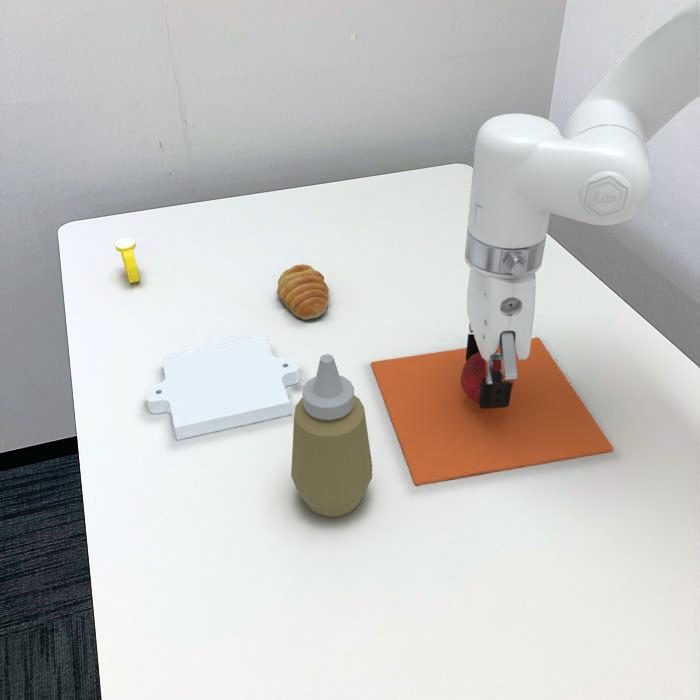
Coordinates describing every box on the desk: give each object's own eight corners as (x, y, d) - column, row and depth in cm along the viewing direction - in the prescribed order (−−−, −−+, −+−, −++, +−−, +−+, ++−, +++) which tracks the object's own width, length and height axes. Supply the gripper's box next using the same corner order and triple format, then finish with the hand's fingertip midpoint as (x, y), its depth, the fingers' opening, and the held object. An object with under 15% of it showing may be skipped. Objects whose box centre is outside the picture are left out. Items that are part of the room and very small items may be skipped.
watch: (120, 269, 109) (111, 234, 105) (139, 265, 110) (130, 230, 106) (127, 290, 105) (118, 254, 101) (146, 286, 106) (138, 250, 102)
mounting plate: (286, 343, 95) (285, 332, 93) (312, 409, 85) (311, 397, 84) (143, 372, 91) (140, 360, 89) (154, 445, 81) (150, 432, 80)
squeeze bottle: (283, 519, 73) (267, 381, 61) (306, 459, 79) (295, 325, 68) (362, 534, 71) (361, 396, 60) (380, 472, 77) (382, 336, 66)
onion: (470, 424, 82) (476, 369, 77) (450, 391, 86) (456, 337, 81) (518, 414, 83) (527, 359, 78) (496, 381, 88) (504, 328, 83)
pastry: (339, 317, 99) (338, 293, 96) (290, 327, 97) (288, 304, 95) (319, 280, 106) (318, 258, 103) (274, 290, 104) (271, 267, 102)
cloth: (538, 339, 94) (538, 337, 94) (612, 451, 79) (613, 448, 79) (371, 364, 91) (370, 361, 91) (415, 485, 76) (415, 483, 76)
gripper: (569, 294, 65) (539, 436, 76) (520, 202, 79) (501, 334, 90) (485, 298, 65) (467, 440, 76) (450, 205, 79) (440, 338, 90)
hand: (486, 382), depth 83 cm, fingers open, 6 cm apart
